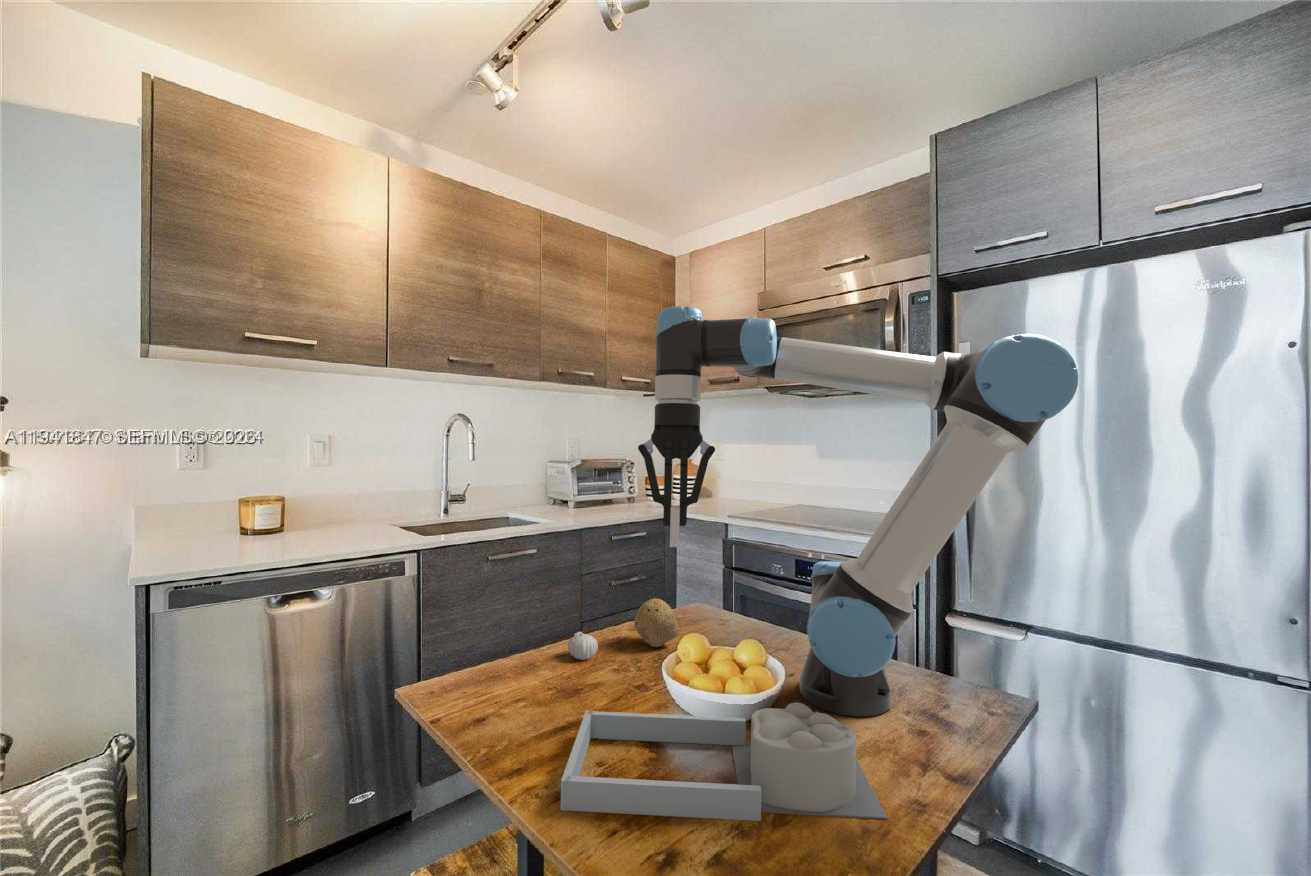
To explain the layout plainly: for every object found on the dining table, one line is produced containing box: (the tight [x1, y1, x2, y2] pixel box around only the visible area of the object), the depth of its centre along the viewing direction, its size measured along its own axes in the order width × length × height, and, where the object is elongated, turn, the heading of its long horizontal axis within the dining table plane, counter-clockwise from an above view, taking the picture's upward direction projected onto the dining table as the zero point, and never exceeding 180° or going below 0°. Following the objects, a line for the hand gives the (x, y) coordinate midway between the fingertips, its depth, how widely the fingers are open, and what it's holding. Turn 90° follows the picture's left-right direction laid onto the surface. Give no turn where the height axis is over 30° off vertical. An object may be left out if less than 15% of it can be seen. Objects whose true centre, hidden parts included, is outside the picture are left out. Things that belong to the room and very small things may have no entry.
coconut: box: [634, 597, 679, 648], centre depth 120 cm, size 9×9×10 cm
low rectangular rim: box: [560, 710, 762, 822], centre depth 75 cm, size 24×17×4 cm
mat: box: [731, 745, 888, 820], centre depth 74 cm, size 17×14×1 cm
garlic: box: [567, 631, 599, 661], centre depth 113 cm, size 6×5×5 cm
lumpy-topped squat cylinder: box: [750, 702, 857, 812], centre depth 72 cm, size 10×13×9 cm
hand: (674, 545), depth 94 cm, fingers closed
